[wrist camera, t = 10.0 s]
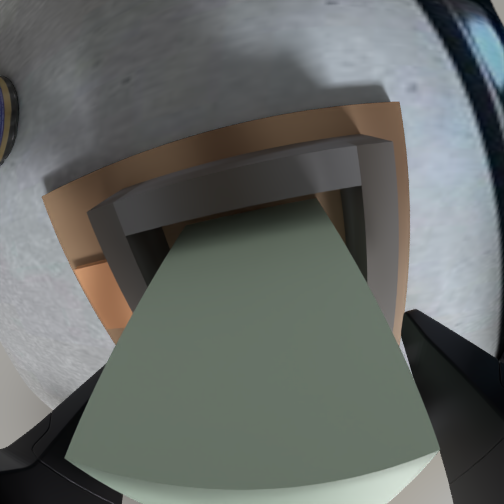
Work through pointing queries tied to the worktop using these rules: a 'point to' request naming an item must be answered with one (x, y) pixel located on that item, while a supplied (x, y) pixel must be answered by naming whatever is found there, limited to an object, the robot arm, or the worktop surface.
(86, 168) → the worktop surface
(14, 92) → the pill bottle
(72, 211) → the socket board
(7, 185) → the worktop surface
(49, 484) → the robot arm
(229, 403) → the sage peg
